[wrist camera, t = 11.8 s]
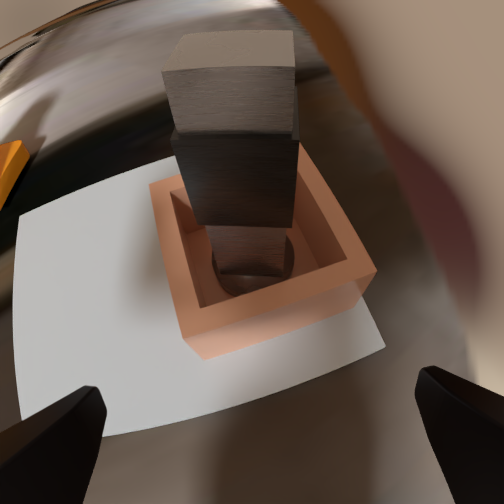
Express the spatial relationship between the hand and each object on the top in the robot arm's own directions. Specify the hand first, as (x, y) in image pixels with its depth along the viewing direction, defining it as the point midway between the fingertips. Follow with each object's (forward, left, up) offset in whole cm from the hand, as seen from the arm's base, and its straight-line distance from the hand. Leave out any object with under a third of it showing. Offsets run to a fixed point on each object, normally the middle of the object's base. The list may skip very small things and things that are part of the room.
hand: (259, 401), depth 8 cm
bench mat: (+10, +4, -8) cm, 13 cm away
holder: (+8, -2, -8) cm, 11 cm away
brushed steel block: (+8, -2, -7) cm, 11 cm away
